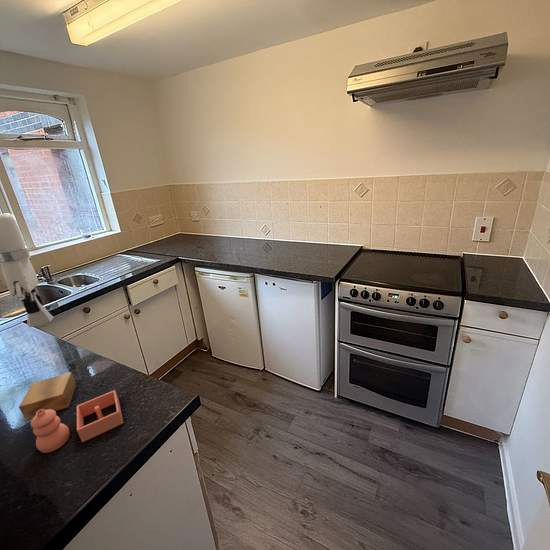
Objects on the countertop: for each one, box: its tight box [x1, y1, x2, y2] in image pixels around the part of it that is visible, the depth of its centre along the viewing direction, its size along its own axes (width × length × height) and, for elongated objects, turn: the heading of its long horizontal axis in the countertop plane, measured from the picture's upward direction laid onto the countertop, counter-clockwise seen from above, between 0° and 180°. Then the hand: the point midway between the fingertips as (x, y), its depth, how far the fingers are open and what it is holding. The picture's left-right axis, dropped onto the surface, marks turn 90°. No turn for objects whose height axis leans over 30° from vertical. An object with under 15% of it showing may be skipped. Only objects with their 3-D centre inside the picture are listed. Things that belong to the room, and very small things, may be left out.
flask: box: [25, 292, 55, 328], centre depth 96 cm, size 7×7×10 cm
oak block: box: [18, 371, 77, 421], centre depth 84 cm, size 10×10×5 cm
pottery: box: [30, 389, 124, 454], centre depth 73 cm, size 18×10×10 cm, turn 123°
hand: (35, 309), depth 96 cm, fingers closed on flask, 3 cm apart
